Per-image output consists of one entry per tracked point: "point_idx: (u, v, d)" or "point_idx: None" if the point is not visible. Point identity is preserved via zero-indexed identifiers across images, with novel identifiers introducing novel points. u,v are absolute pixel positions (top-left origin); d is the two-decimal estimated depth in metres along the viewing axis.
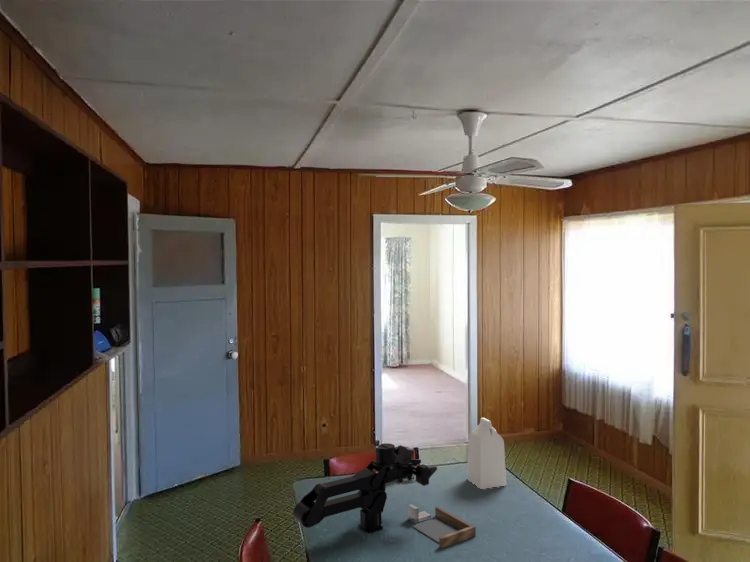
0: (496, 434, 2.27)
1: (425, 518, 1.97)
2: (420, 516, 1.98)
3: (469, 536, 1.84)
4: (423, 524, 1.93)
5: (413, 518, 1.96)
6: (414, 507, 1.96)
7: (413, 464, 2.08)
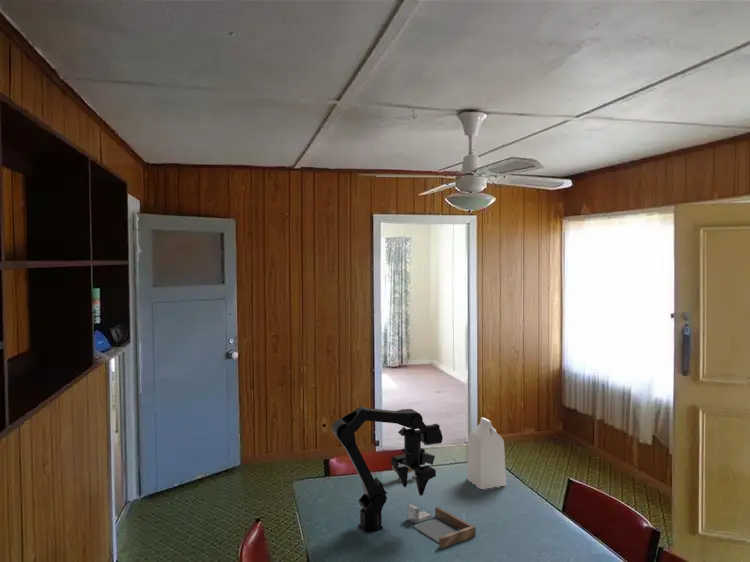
0: (496, 434, 2.27)
1: (425, 518, 1.97)
2: (420, 516, 1.98)
3: (469, 536, 1.84)
4: (423, 524, 1.93)
5: (413, 518, 1.96)
6: (414, 507, 1.96)
7: (403, 477, 2.00)
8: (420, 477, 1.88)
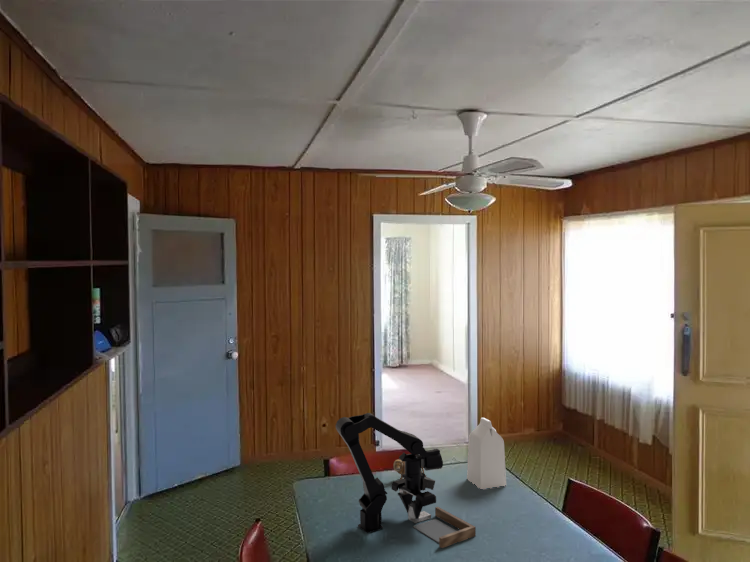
0: (496, 434, 2.27)
1: (425, 518, 1.97)
2: (420, 516, 1.98)
3: (469, 536, 1.84)
4: (423, 524, 1.93)
5: (413, 518, 1.96)
6: None
7: None
8: (420, 503, 1.88)
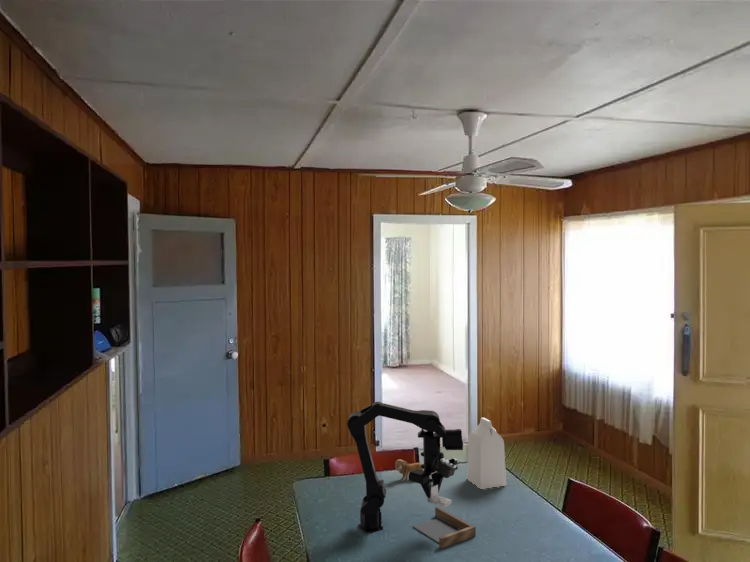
0: (496, 434, 2.27)
1: (438, 503, 1.86)
2: (437, 499, 1.88)
3: (469, 536, 1.84)
4: (423, 524, 1.93)
5: None
6: (431, 486, 1.90)
7: (435, 483, 1.92)
8: None
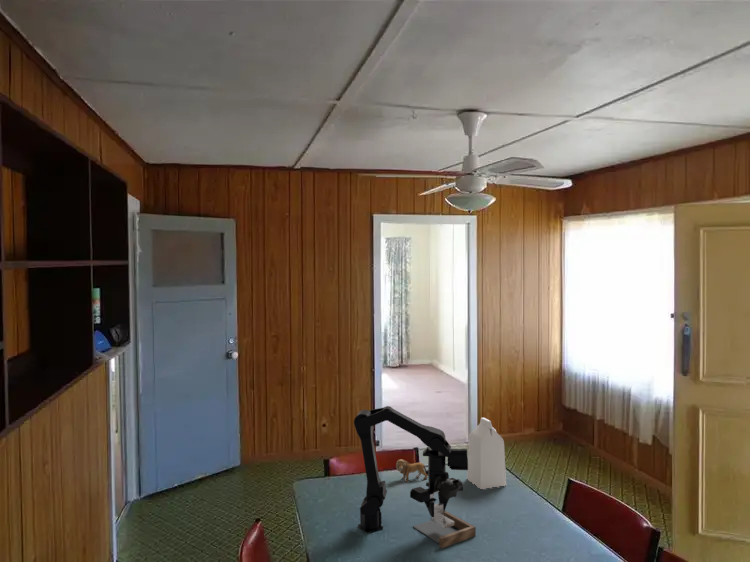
0: (496, 434, 2.27)
1: (440, 523, 1.85)
2: (440, 519, 1.86)
3: (469, 536, 1.84)
4: (423, 524, 1.93)
5: None
6: (435, 505, 1.88)
7: (441, 502, 1.90)
8: None
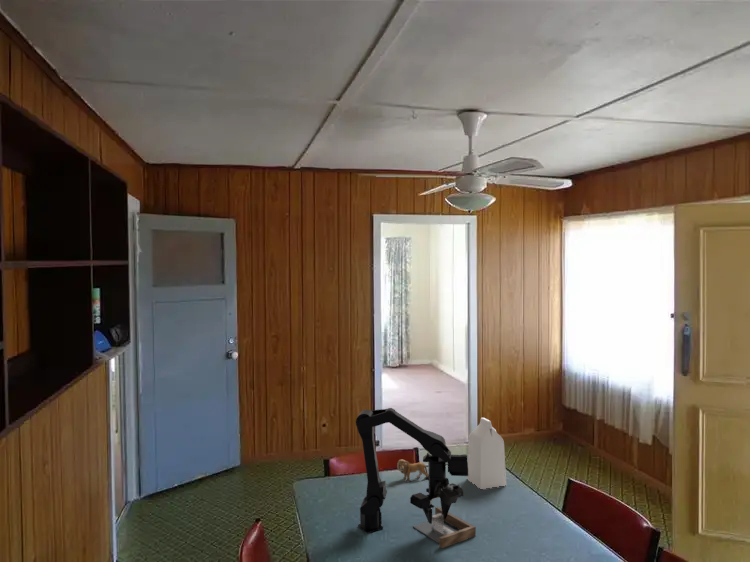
0: (496, 434, 2.27)
1: (440, 534, 1.85)
2: (440, 530, 1.86)
3: (469, 536, 1.84)
4: (423, 524, 1.93)
5: None
6: (435, 515, 1.88)
7: (443, 508, 1.91)
8: None
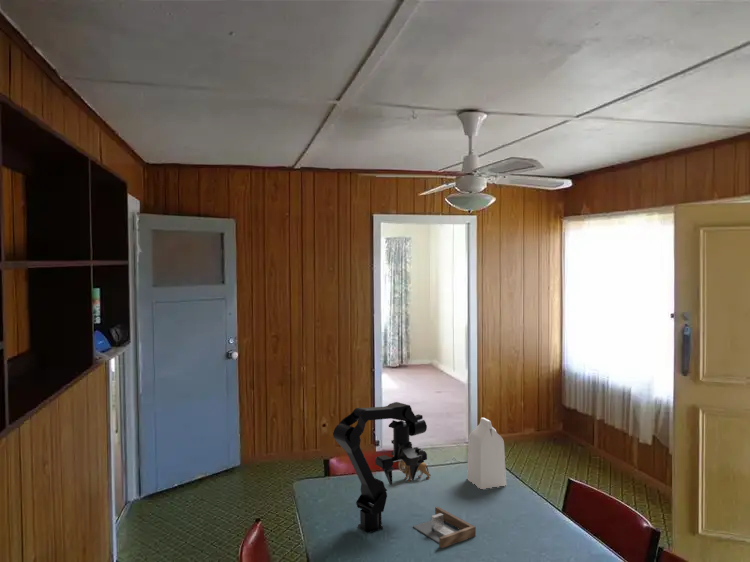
0: (496, 434, 2.27)
1: (440, 534, 1.85)
2: (440, 530, 1.86)
3: (469, 536, 1.84)
4: (423, 524, 1.93)
5: None
6: (435, 515, 1.88)
7: (411, 469, 2.04)
8: None
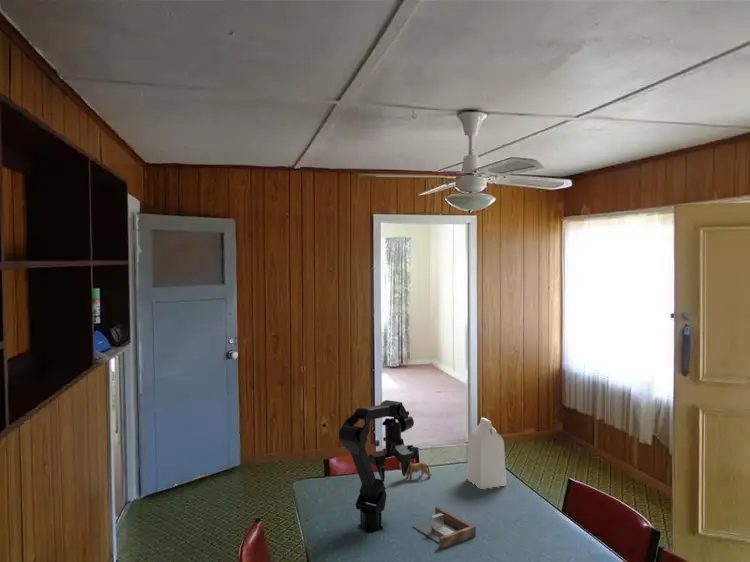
0: (496, 434, 2.27)
1: (440, 534, 1.85)
2: (440, 530, 1.86)
3: (469, 536, 1.84)
4: (423, 524, 1.93)
5: None
6: (435, 515, 1.88)
7: (402, 466, 2.08)
8: None
